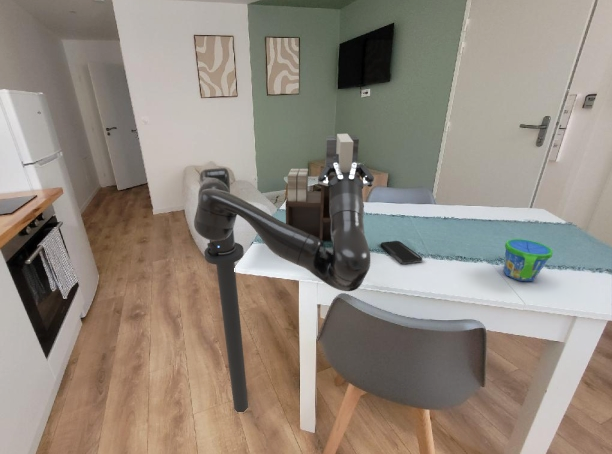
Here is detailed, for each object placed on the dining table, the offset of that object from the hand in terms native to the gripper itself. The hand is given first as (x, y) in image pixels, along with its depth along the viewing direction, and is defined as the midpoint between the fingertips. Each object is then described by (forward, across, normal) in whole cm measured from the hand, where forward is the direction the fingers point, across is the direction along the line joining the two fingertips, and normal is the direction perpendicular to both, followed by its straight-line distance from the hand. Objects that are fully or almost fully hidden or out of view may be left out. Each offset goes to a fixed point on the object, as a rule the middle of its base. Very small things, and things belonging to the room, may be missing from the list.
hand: (344, 156), depth 77 cm
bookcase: (0, -6, -44) cm, 44 cm away
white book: (+1, 0, -6) cm, 6 cm away
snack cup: (-12, +55, -38) cm, 68 cm away
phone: (-2, +23, -43) cm, 49 cm away
